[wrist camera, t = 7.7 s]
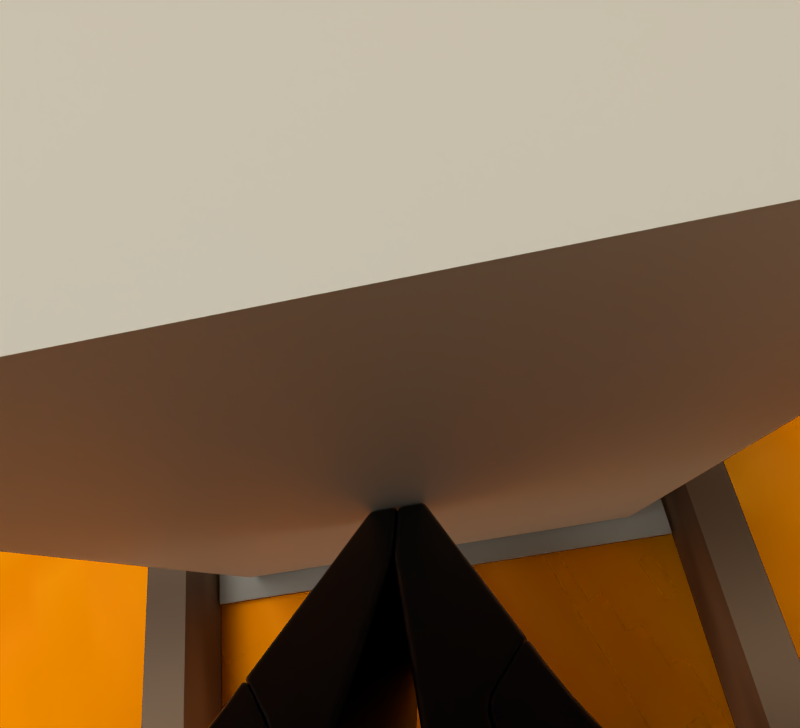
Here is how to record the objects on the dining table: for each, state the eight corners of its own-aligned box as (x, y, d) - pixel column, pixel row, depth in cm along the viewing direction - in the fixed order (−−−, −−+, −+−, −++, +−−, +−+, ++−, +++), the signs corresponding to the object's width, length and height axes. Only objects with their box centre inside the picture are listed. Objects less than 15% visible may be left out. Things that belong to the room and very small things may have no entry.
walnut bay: (972, 1260, 9) (1171, 1528, 7) (175, 1310, 10) (66, 1559, 8) (583, 168, 19) (600, 96, 17) (192, 248, 20) (146, 194, 18)
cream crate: (628, 516, 14) (1344, 91, 2) (250, 577, 15) (-645, 483, 3) (536, 206, 18) (629, -522, 6) (242, 266, 19) (-161, -290, 7)
